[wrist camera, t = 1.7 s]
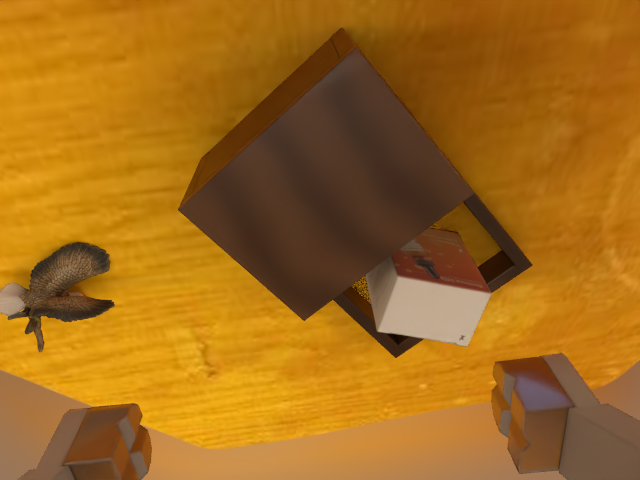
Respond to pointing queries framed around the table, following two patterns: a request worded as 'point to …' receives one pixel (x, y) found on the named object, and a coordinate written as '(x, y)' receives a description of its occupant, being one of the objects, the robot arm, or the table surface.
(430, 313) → the small box
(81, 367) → the table surface
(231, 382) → the table surface
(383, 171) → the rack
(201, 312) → the table surface
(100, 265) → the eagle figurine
